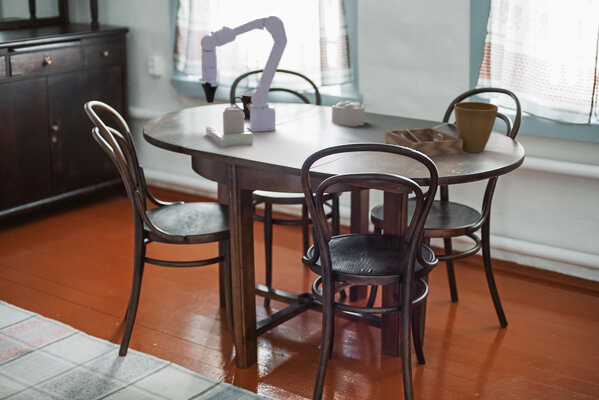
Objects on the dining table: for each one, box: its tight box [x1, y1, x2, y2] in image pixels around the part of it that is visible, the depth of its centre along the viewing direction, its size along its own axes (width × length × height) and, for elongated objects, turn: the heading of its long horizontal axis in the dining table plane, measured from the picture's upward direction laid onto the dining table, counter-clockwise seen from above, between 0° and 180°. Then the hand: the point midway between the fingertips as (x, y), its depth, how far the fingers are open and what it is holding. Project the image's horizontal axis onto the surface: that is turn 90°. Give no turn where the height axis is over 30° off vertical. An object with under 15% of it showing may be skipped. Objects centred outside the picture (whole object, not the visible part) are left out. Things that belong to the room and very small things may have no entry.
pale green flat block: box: [205, 126, 254, 149], centre depth 277 cm, size 12×22×4 cm, turn 21°
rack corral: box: [384, 127, 463, 158], centre depth 267 cm, size 19×21×5 cm
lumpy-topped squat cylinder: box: [331, 100, 365, 127], centre depth 308 cm, size 10×13×9 cm
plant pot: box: [453, 101, 499, 153], centre depth 265 cm, size 15×15×16 cm
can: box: [222, 106, 245, 135], centre depth 275 cm, size 8×8×12 cm
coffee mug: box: [232, 92, 252, 121], centre depth 316 cm, size 12×9×10 cm
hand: (210, 102), depth 292 cm, fingers closed
